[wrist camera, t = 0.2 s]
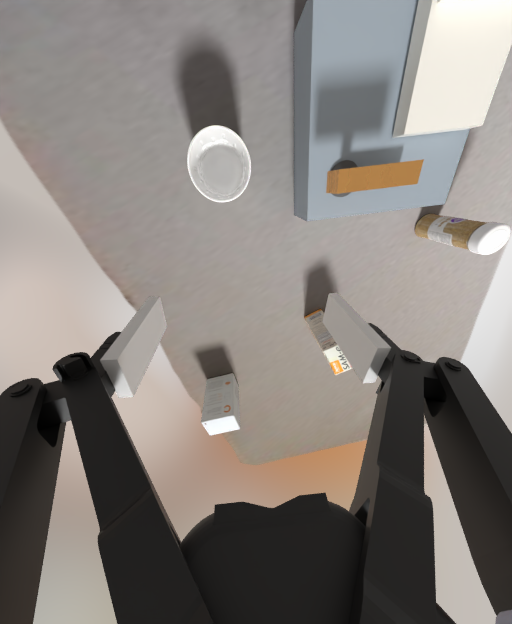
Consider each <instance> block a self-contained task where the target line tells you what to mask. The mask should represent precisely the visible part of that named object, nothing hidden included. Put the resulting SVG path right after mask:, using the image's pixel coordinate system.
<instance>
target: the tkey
mask: <svg viewBox="0 0 512 624" xmlns="http://www.w3.org/2000/svg"><path fill="white" fill-rule="evenodd" d="M423 161H424V159H423V160H414V161H406V162H398V163H389V164H381V165H372V166H364V167H356V168H347V169H339V170H333V171H328V172H327V187H326V193H333V194H340V193H348V192H356V191H364V190H372V189H381V188H389V187H397V186H405V185H413V184H418V180H419V176H420V172H421V169H422V165H423Z"/></svg>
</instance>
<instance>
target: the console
mask: <svg viewBox="0 0 512 624" xmlns="http://www.w3.org/2000/svg"><path fill="white" fill-rule="evenodd" d="M418 1H419V0H307V1H306V4H305V6H304V9H303V12H302V14H301V17H300V19H299V22H298V24H297V27H296V30H295V32H294V215H295V216H297V217H299V218H301V219H303V220H306V221H314V220H322V219H330V218H338V217H346V216H354V215H362V214H370V213H378V212H386V211H394V210H402V209H410V208H418V207H426V206H434V205H442V204H445V201H446V198H447V195H448V192H449V189H450V187H451V184H452V181H453V178H454V175H455V172H456V169H457V166H458V163H459V160H460V157H461V154H462V151H463V148H464V145H465V142H466V139H467V136H468V133H469V130H470V129H466V130H457V131H449V132H440V133H432V134H423V135H414V136H406V137H397V138H392V137H393V132H394V126H395V121H396V116H397V111H398V105H399V100H400V95H401V90H402V84H403V79H404V74H405V69H406V64H407V58H408V53H409V48H410V43H411V37H412V32H413V27H414V22H415V16H416V11H417V6H418ZM423 159H424V161H423V165H422V169H421V172H420V176H419V180H418V184H413V185H405V186H397V187H389V188H381V189H372V190H364V191H356V192H348V193H340V194H333V193H326V187H327V172H328V171H333V170H339V169H347V168H356V167H364V166H372V165H381V164H389V163H398V162H406V161H414V160H423Z"/></svg>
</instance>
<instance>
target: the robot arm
mask: <svg viewBox="0 0 512 624" xmlns="http://www.w3.org/2000/svg"><path fill="white" fill-rule="evenodd" d="M322 322H323V323H324V325H325V327H326V328H327V330H328V331H329V333H330V334H331V336H332V337H333V339H334V340H335V342H336V343H337V345H338V346H339V348H340V349H341V351H342V353H343V354H344V356H345V357H346V359H347V360H348V362H349V363H350V365H351V366H352V368H353V369H354V371H355V372H356V374H357V375H358V377H359V379H360V380H361V382H362V383H374V382H375V380H376V378H377V376H379V377H380V378H381V380H382V381H381V383H380V385H379V387H378V389H377V391H376V393H377V394H378V395H377V400H376V404H375V409H374V413H373V417H372V422H371V426H370V431H369V435H368V440H367V444H366V449H365V453H364V458H363V462H362V467H361V471H360V475H359V480H358V485H357V488H356V493H355V496H354V499H353V502H352V504H351V507H350V510H349V511H347V510H346V509H344V508H343V507H341V506H339V505H337V504H334V503H332V502H329V501H328V500H327V497H326V493H319V494H310V495H300V496H297V497H296V498H293V499H291V500H289V501H287V502H285V503H283V504H281V505H279V506H277V507H275V508H267V507H263V506H258V505H255V504H250V503H246V502H236V503H227V504H217V505H215V511H214V513H213V514H211V515H209V516H208V517H206V518H205V519H203V520H202V521H200V522H199V523H198V524H197V525H196V526H195V527H194V528H193V529H192V530H191V531H190V532H189V533H188V534H187V536H186V537H185V538H184V539H183V541H182V542H181V541H180V539H179V537H178V535H177V533H176V531H175V529H174V527H173V525H172V523H171V521H170V519H169V517H168V515H167V513H166V511H165V509H164V507H163V504H162V502H161V500H160V498H159V496H158V494H157V492H156V490H155V488H154V486H153V484H152V481H151V479H150V477H149V475H148V473H147V471H146V469H145V467H144V465H143V463H142V460H141V458H140V456H139V454H138V452H137V450H136V448H135V446H134V444H133V442H132V440H131V437H130V435H129V433H128V431H127V429H126V427H125V425H124V423H123V421H122V419H121V417H120V414H119V413H118V411H117V408H116V406H115V404H114V402H113V400H112V398H111V397H112V395H113V394H114V392H115V391H116V393H117V395H118V397H119V398H123V397H134V395H135V393H136V390H137V389H138V386H139V384H140V382H141V380H142V378H143V376H144V374H145V372H146V370H147V368H148V366H149V363H150V361H151V359H152V357H153V355H154V353H155V351H156V349H157V346H158V345H159V343H160V340H161V338H162V336H163V334H164V332H165V330H166V328H167V323H166V319H165V315H164V311H163V307H162V303H161V299H160V296H149V297H148V299H147V300H146V301H145V303H144V304H143V305H142V307H141V308H140V309H139V310H138V312H137V313H136V314H135V316H134V317H133V318H132V320H131V321H130V322H129V323H128V325H127V326H126V328H125V329H124V330H123V331H122V332H115V333H114V334H112V335H111V336H109V337H108V338H107V339H106V340H105V342H104V343H103V344H102V345H101V346H100V348H99V349H98V350H97V351H96V352H95V353H94V355H93V356H92V357H91V358H90V356H89V355H88V354H87V353H83V352H80V353H74V354H70V355H68V356H66V357H63V358H62V359H60V360H59V361H57V362H56V364H55V365H54V366H53V371H54V372H55V374H56V375H57V377H58V378H59V380H58V381H55V382H51V383H47V384H43V383H42V382H41V380H39V379H37V378H31V379H26V380H23V381H20V382H18V383H16V384H14V385H12V386H10V387H9V388H7V389H6V390H5V391H4V392H3V393H2V394H1V395H0V624H33V618H34V613H35V607H36V601H37V595H38V589H39V583H40V577H41V571H42V565H43V559H44V553H45V547H46V540H47V535H48V528H49V523H50V516H51V511H52V504H53V499H54V493H55V486H56V480H57V474H58V468H59V462H60V456H61V450H62V444H63V438H64V432H65V426H66V422H67V421H70V420H71V421H72V424H73V428H74V432H75V436H76V440H77V443H78V447H79V451H80V455H81V458H82V462H83V466H84V470H85V473H86V477H87V481H88V485H89V488H90V492H91V496H92V500H93V504H94V507H95V511H96V515H97V519H98V522H99V526H100V533H99V535H98V546H99V551H100V555H101V559H102V563H103V567H104V572H105V576H106V579H107V583H108V588H109V591H110V596H111V599H112V604H113V608H114V612H115V616H116V620H117V623H118V624H456V623H455V622H454V621H453V620H452V619H451V618H450V617H449V616H448V615H447V613H446V612H445V611H444V610H443V609H442V608H441V607H440V606H439V605H438V604H437V603H436V589H435V556H434V523H433V506H432V501H431V499H430V497H428V496H427V495H425V493H424V415H425V418H426V421H427V424H428V427H429V430H430V433H431V436H432V439H433V442H434V444H435V447H436V451H437V453H438V457H439V459H440V462H441V466H442V469H443V471H444V474H445V477H446V480H447V484H448V486H449V489H450V492H451V496H452V498H453V502H454V505H455V508H456V510H457V513H458V516H459V519H460V522H461V525H462V528H463V531H464V534H465V537H466V540H467V543H468V546H469V549H470V552H471V555H472V558H473V561H474V564H475V566H476V569H477V572H478V575H479V577H480V580H481V582H482V585H483V587H484V589H485V592H486V594H487V596H488V598H489V600H490V603H491V605H492V607H493V609H494V612H495V613H496V615H497V617H496V624H512V434H511V432H510V431H509V429H508V428H507V426H506V425H505V423H504V421H503V420H502V418H501V417H500V416H499V414H498V413H497V411H496V409H495V408H494V407H493V405H492V403H491V402H490V401H489V399H488V398H487V396H486V395H485V393H484V392H483V390H482V388H481V387H480V385H479V384H478V382H477V381H476V379H475V378H474V376H473V375H472V373H471V372H470V370H469V369H468V368H467V367H466V366H465V365H463V364H462V363H461V362H459V361H457V360H455V359H451V358H447V357H441V358H439V359H438V360H437V362H436V363H431V362H425V361H423V360H422V359H421V358H420V357H419V356H417V355H416V354H414V353H412V352H409V351H405V350H401V349H400V348H399V347H398V346H397V345H396V344H395V343H394V342H392V341H391V340H390V339H389V338H388V337H387V336H386V335H385V334H384V333H383V332H382V331H381V330H380V329H379V328H378V327H376V326H375V325H373V324H371V323H367V322H366V321H365V320H364V319H363V318H362V317H361V316H360V315H359V314H358V313H357V312H356V311H355V310H354V309H353V308H352V307H351V306H350V305H349V304H348V303H347V302H346V301H345V300H344V299H343V298H342V297H341V296H340V295H339V294H338V293H329V295H328V299H327V304H326V308H325V312H324V317H323V321H322Z"/></svg>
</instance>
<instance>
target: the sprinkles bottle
mask: <svg viewBox="0 0 512 624" xmlns="http://www.w3.org/2000/svg"><path fill="white" fill-rule="evenodd" d="M415 233H416V235H417V236H418V237H424V238H428V239H431V240H433V241H437V242H441V243H444V244H448V245H451V246H455V247H460V248H464V249H468V250H470V251H471V252H474V253H478V254H482V255H488V254H491V253H494V252H496V251H497V250H499V249H500V248H501V247H502V246H503V245H504V244H505V243H506V242H507V241H508V239H509V237H510V234H511V229H510V227H509V226H508V225H507V224H503V223H497V222H488V223H486V222H479V221H472V220H467V219H462V218H455V217H449V216H440V215H436V214H427V215H425V216H423V217H422V218H421V219H420V220H419V221H418V223H417V225H416V228H415Z"/></svg>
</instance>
